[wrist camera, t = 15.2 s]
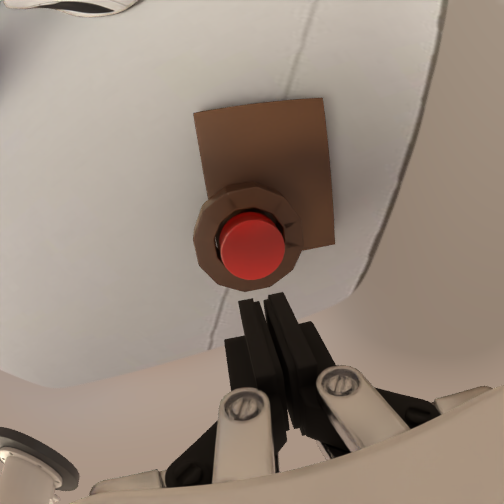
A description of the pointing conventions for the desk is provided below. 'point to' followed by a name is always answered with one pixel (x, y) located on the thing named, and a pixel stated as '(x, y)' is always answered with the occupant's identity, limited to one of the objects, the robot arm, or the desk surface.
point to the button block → (264, 180)
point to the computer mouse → (75, 6)
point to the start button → (251, 246)
